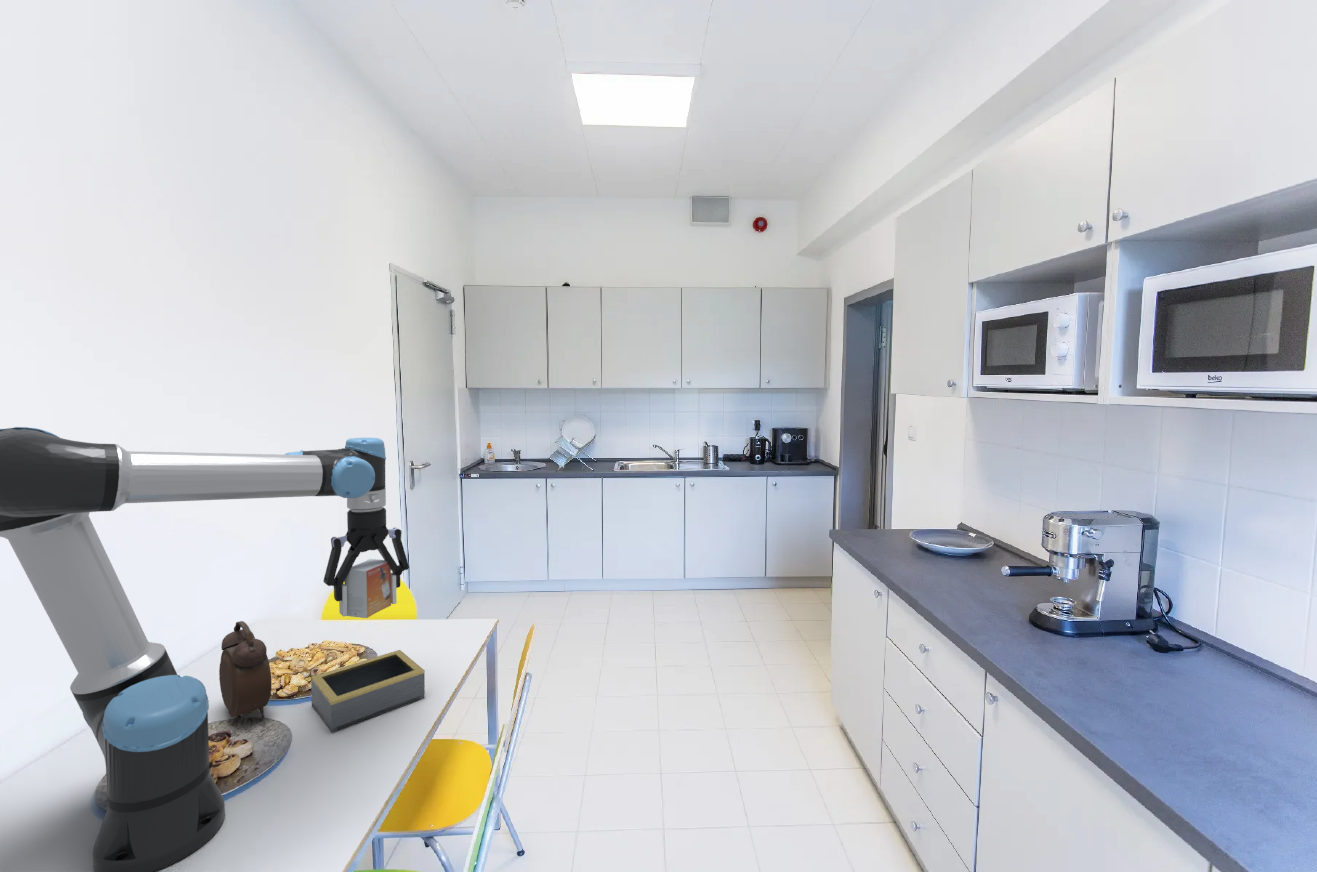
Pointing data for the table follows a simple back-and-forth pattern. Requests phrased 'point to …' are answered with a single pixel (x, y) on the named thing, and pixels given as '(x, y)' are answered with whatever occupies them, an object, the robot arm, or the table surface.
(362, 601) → the small box
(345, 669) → the box
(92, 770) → the table surface
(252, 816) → the table surface
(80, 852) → the table surface
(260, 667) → the alarm clock
